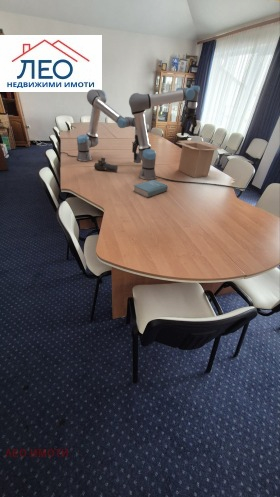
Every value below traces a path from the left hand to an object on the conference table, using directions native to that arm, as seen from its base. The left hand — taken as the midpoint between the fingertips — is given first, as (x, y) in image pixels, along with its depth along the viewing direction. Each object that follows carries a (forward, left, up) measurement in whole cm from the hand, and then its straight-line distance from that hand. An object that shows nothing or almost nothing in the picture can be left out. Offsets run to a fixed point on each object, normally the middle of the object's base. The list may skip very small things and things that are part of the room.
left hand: (137, 159), depth 227 cm
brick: (0, 0, -3) cm, 3 cm away
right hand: (+46, -1, +27) cm, 54 cm away
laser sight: (-25, -27, -7) cm, 37 cm away
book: (+27, -62, -7) cm, 68 cm away
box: (+58, +3, -7) cm, 59 cm away
